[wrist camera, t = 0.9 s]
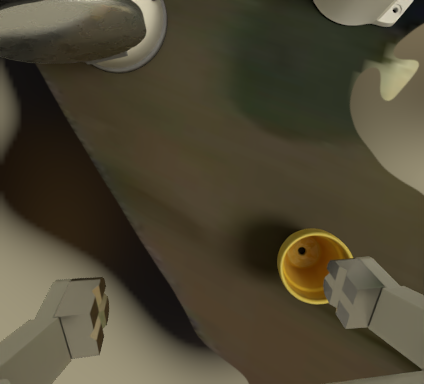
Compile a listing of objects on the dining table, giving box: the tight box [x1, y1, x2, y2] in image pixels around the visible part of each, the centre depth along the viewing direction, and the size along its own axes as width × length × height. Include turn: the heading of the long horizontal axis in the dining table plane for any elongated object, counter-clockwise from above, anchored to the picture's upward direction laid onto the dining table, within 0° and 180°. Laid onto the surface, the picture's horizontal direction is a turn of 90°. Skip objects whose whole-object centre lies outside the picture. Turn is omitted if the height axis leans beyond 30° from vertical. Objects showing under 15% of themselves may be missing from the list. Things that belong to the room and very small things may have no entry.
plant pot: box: [277, 228, 353, 304], centre depth 45 cm, size 10×10×10 cm
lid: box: [0, 0, 146, 64], centre depth 30 cm, size 19×17×2 cm
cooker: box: [85, 0, 167, 73], centre depth 44 cm, size 18×21×11 cm
